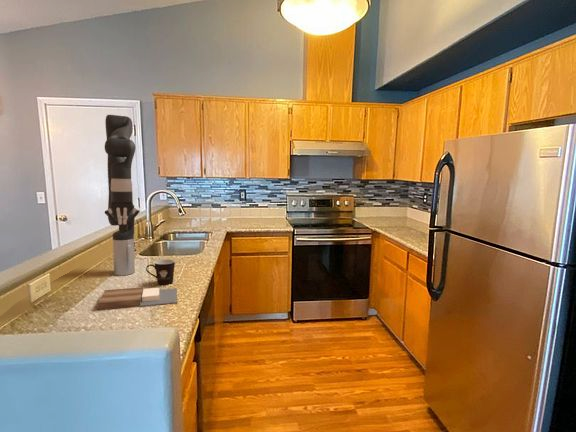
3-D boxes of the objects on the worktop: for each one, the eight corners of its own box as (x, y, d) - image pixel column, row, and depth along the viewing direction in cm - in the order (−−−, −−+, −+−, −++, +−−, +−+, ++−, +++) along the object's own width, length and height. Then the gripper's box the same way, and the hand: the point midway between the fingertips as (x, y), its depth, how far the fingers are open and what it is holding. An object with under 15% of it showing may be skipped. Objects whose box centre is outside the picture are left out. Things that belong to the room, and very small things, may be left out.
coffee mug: (179, 281, 149) (178, 260, 148) (167, 287, 141) (167, 265, 139) (157, 278, 152) (157, 257, 151) (145, 284, 144) (144, 262, 142)
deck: (105, 296, 128) (105, 290, 128) (143, 292, 133) (143, 287, 133) (97, 310, 115) (97, 303, 115) (140, 305, 120) (140, 299, 120)
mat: (143, 292, 134) (143, 290, 134) (176, 289, 138) (176, 288, 138) (140, 306, 119) (140, 305, 119) (177, 303, 123) (177, 301, 123)
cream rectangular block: (143, 293, 131) (143, 289, 131) (159, 292, 133) (159, 287, 133) (142, 301, 122) (141, 296, 122) (159, 300, 125) (158, 295, 124)
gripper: (141, 190, 133) (142, 231, 135) (104, 189, 128) (106, 232, 130) (139, 191, 126) (140, 234, 128) (100, 190, 121) (102, 235, 123)
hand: (123, 233), depth 129 cm, fingers closed
